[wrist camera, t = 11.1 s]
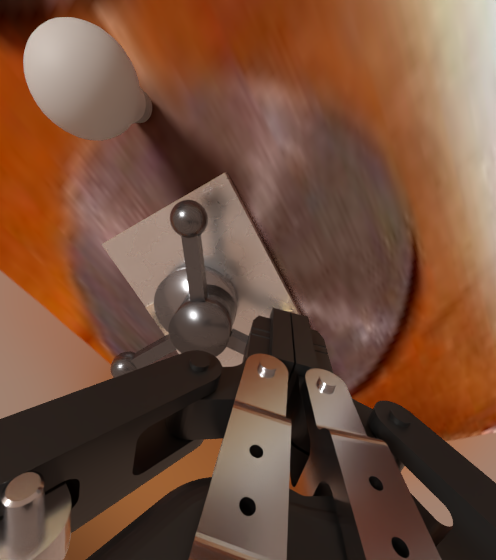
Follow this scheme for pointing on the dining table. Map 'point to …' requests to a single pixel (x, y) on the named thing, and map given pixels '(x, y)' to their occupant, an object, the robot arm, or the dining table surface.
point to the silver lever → (190, 301)
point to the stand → (206, 257)
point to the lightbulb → (83, 79)
